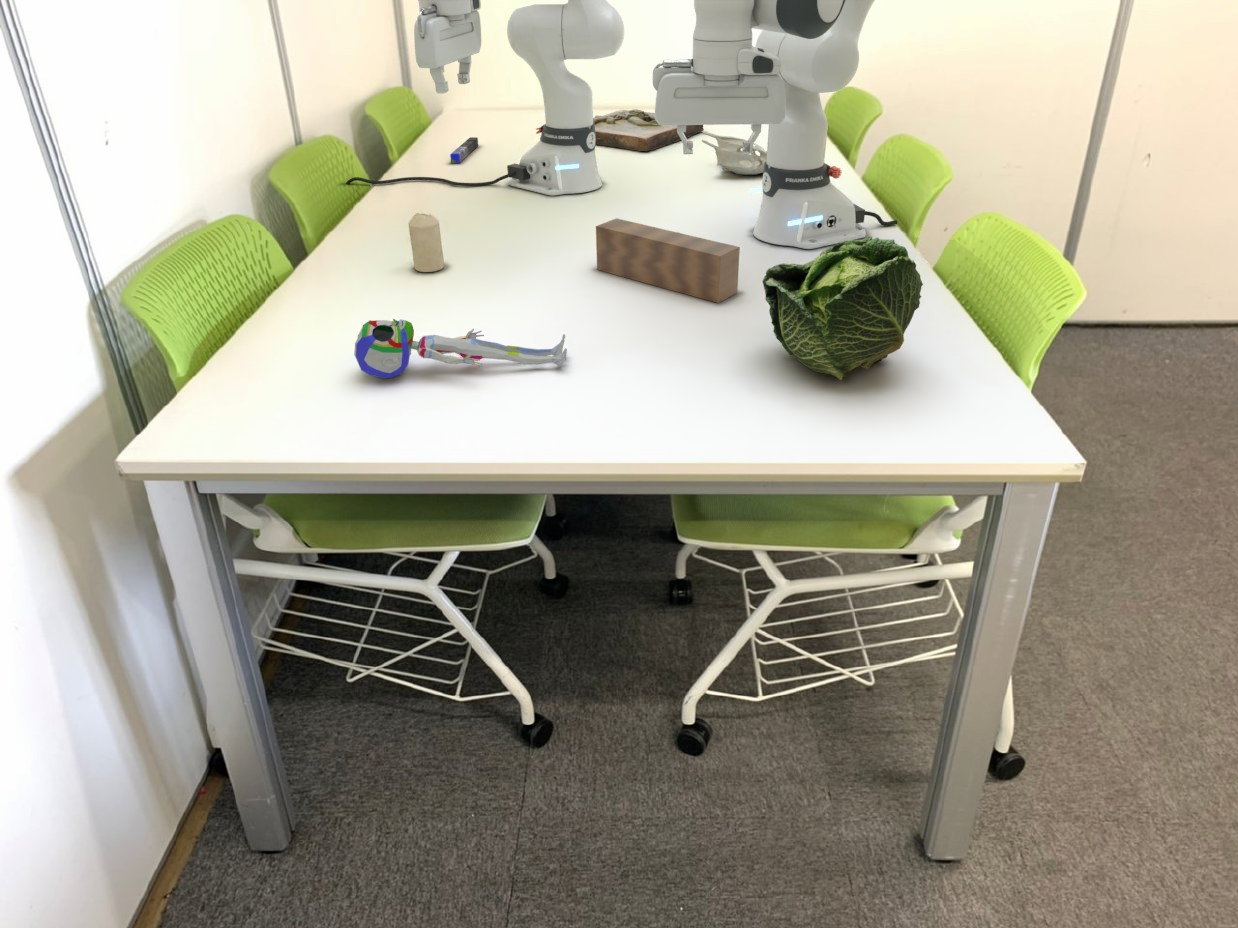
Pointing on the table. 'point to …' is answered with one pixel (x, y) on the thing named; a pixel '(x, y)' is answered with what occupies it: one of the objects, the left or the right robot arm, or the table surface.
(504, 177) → the left robot arm
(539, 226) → the table surface
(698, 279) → the bar
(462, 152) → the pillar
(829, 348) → the vegetable
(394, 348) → the toy
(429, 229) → the candle
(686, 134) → the plaque
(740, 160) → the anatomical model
